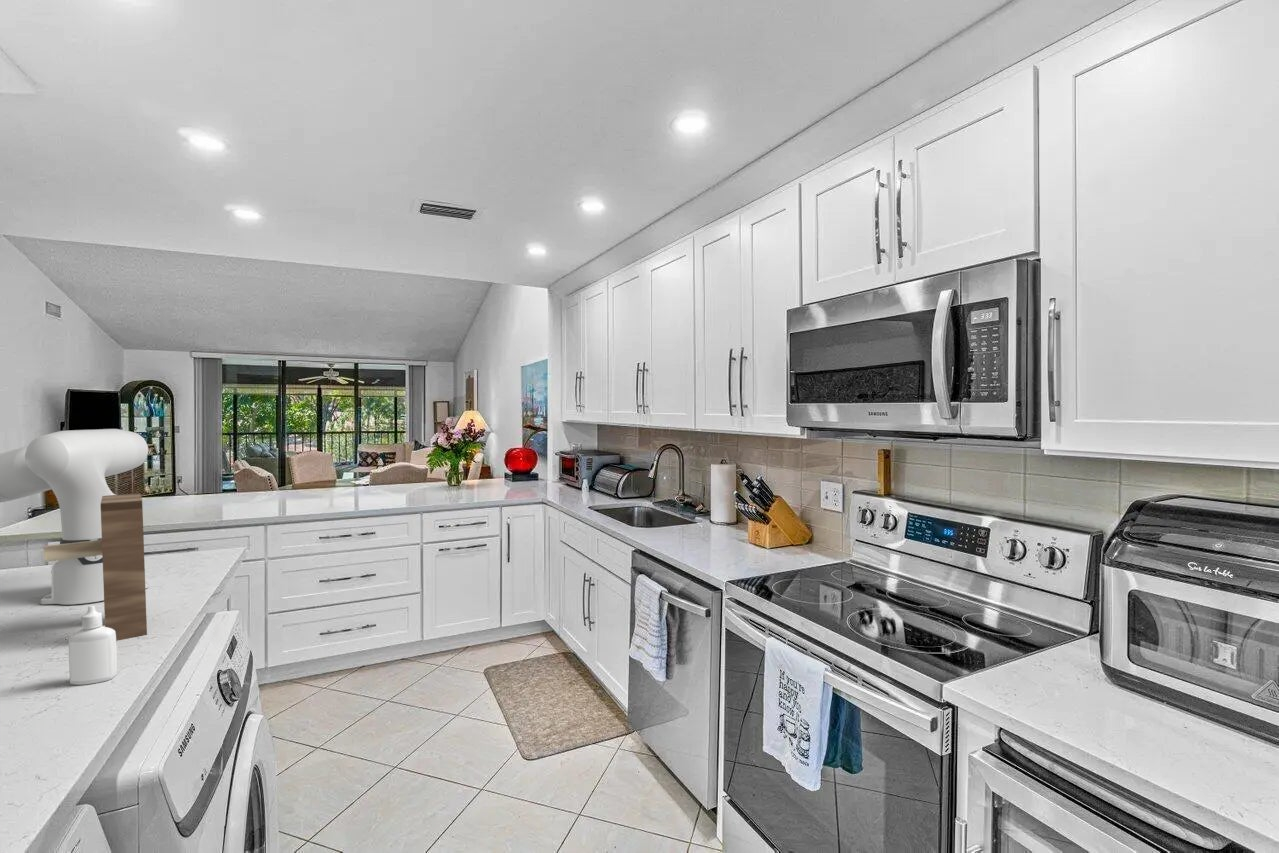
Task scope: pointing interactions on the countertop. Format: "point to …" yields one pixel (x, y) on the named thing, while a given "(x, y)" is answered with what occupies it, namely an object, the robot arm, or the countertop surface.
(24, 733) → the countertop surface
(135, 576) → the walnut shelf
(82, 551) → the wooden mallet
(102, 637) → the eye dropper bottle
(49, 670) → the countertop surface
